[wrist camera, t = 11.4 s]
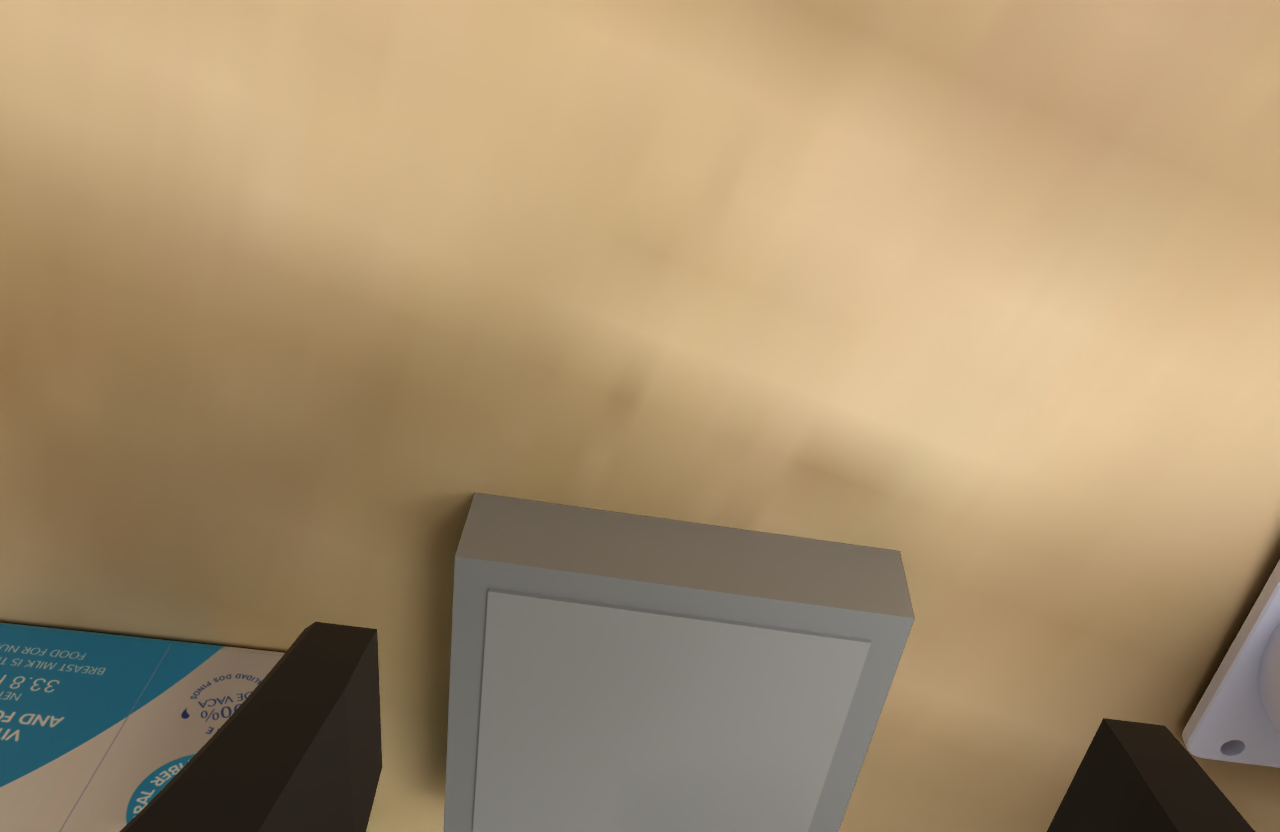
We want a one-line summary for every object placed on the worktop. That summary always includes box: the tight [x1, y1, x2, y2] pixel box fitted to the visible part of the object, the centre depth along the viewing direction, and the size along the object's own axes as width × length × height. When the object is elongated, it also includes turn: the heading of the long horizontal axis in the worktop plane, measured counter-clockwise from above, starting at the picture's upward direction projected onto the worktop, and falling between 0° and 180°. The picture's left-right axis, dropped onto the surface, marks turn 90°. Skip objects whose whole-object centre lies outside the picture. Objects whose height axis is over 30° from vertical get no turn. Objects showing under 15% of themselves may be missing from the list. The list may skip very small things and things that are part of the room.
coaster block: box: [444, 493, 915, 832], centre depth 24 cm, size 9×9×3 cm
